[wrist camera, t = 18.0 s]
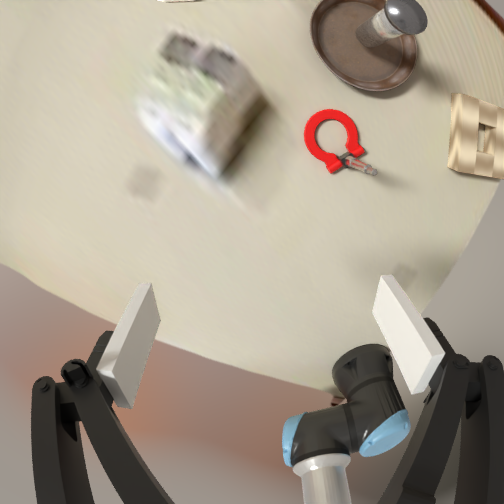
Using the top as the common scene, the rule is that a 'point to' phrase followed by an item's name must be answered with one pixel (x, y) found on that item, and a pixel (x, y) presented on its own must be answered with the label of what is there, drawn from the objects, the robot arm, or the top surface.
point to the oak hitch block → (476, 137)
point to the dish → (174, 0)
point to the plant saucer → (360, 46)
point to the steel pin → (392, 22)
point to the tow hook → (351, 144)
